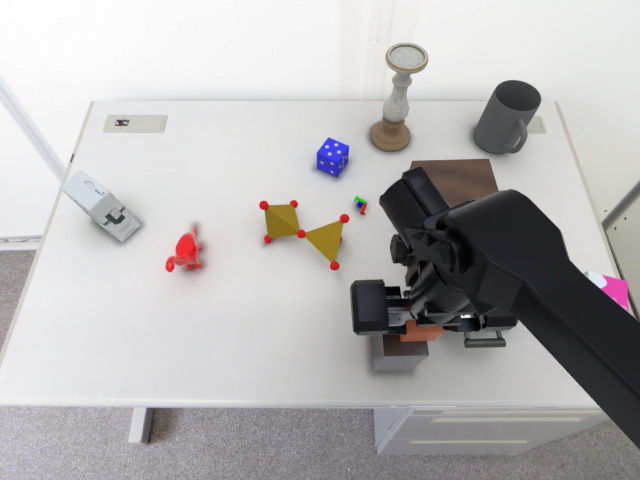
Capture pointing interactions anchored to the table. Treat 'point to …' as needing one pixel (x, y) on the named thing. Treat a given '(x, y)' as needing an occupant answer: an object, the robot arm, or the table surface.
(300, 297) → the table surface
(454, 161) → the cabinet
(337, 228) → the molecule model
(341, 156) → the die
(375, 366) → the pedestal
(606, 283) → the supplement box
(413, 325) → the block
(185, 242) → the dinosaur
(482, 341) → the drawer
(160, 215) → the table surface
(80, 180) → the ink box
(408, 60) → the candle holder
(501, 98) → the mug
